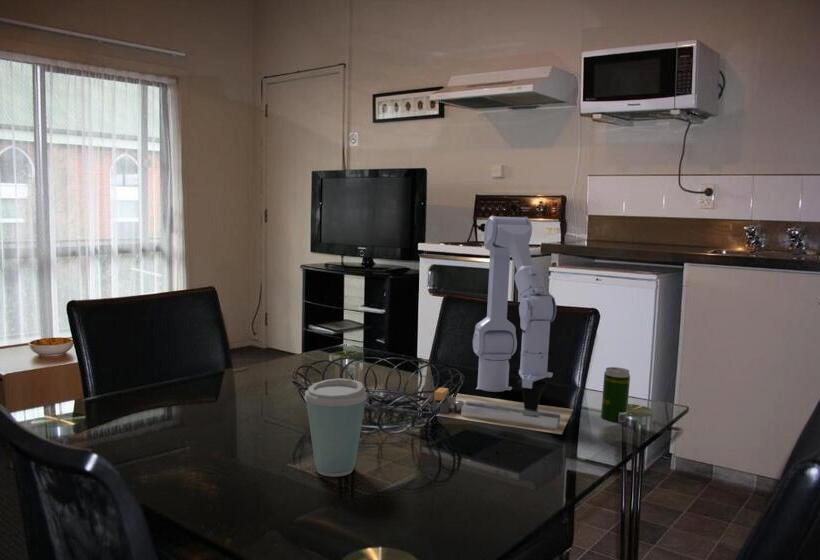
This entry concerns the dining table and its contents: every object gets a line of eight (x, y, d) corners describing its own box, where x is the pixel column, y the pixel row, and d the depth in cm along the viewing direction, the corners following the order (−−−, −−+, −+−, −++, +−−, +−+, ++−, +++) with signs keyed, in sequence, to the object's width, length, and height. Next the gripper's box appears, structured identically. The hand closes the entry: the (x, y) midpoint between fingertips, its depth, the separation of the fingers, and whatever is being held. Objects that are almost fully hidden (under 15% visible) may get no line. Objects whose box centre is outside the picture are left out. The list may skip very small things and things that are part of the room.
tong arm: (456, 407, 157) (457, 398, 157) (560, 422, 150) (560, 412, 150) (453, 411, 154) (453, 402, 154) (558, 426, 147) (558, 416, 147)
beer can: (631, 424, 155) (635, 371, 154) (616, 429, 152) (620, 374, 150) (610, 418, 159) (614, 365, 158) (595, 422, 156) (599, 368, 155)
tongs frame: (440, 405, 159) (440, 395, 159) (560, 423, 150) (561, 411, 150) (432, 412, 154) (432, 401, 154) (556, 430, 145) (557, 419, 145)
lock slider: (439, 395, 158) (439, 387, 158) (448, 396, 157) (448, 388, 157) (434, 399, 154) (434, 391, 154) (442, 400, 154) (443, 392, 153)
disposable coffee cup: (339, 487, 115) (342, 397, 113) (288, 471, 120) (290, 385, 119) (376, 468, 124) (380, 383, 122) (327, 454, 129) (330, 373, 128)
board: (453, 398, 170) (454, 393, 170) (572, 414, 161) (573, 409, 161) (429, 419, 152) (429, 414, 152) (561, 439, 143) (561, 434, 143)
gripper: (548, 360, 143) (543, 425, 145) (558, 347, 157) (554, 407, 158) (513, 356, 146) (509, 420, 147) (526, 343, 159) (522, 402, 161)
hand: (530, 413), depth 153 cm, fingers closed
